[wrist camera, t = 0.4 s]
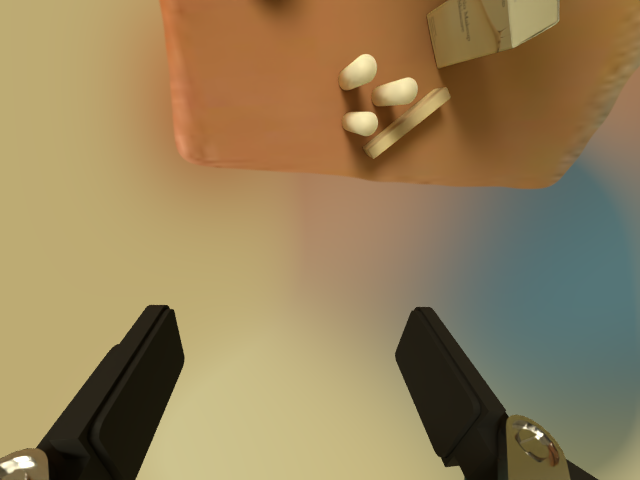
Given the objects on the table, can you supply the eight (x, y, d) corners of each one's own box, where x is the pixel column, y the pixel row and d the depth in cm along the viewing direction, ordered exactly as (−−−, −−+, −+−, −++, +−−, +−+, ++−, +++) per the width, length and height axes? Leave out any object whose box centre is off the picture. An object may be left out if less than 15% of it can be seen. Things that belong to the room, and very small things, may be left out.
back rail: (434, 88, 33) (446, 86, 30) (438, 98, 34) (451, 97, 31) (362, 147, 35) (368, 150, 33) (367, 155, 36) (373, 159, 33)
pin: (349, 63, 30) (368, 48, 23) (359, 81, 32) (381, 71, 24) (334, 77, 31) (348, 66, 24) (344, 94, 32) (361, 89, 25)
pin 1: (352, 108, 33) (370, 106, 25) (361, 123, 34) (382, 126, 26) (338, 120, 33) (352, 122, 26) (348, 134, 34) (364, 140, 27)
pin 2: (382, 81, 32) (411, 71, 24) (391, 98, 33) (421, 93, 25) (367, 94, 32) (391, 88, 25) (377, 110, 33) (402, 109, 26)
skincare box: (424, 15, 29) (503, -42, 18) (459, -7, 28) (561, -78, 18) (437, 71, 32) (511, 50, 21) (469, 52, 31) (561, 21, 21)
